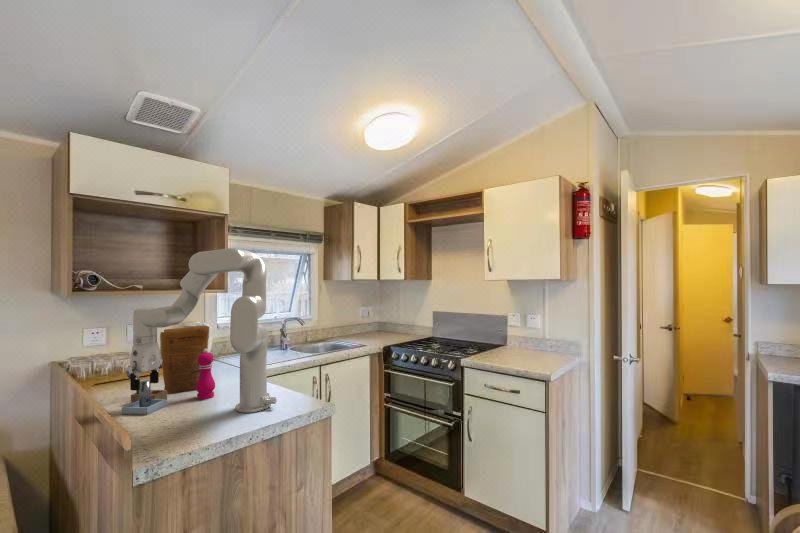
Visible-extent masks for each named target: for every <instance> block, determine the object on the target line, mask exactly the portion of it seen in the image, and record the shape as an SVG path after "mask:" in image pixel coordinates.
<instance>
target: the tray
mask: <svg viewBox="0 0 800 533" xmlns="http://www.w3.org/2000/svg"><path fill="white" fill-rule="evenodd" d="M167 401H168V398H167V399H151V406H149V407H139V401H136V402H134V403H131V402H130V404H127V405H124V406H122V407H121V415H125V416H126V415H127V414H128V415H132V414H133V415H132V416H135V415H136V416H139V415H140V416H147V415H150V414H153V413H155V412H157V411H159V410H161V409H164V408H165V407H167ZM128 415H127V416H128Z"/></svg>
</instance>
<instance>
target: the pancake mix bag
mask: <svg viewBox="0 0 800 533" xmlns="http://www.w3.org/2000/svg"><path fill="white" fill-rule="evenodd" d="M209 338H210V326H208V325H197V326H195V325H194V326H185V327H179V328H167V329H163V331H160V334H159V340H160V341H159V342H160V343H159V350H160V359H162V360H163V361H162V364H161V369H162V378H163V383H164V384H163V385H164V387H163V388H164V389H163V390H167V394H176V393H184V392H191V391H196V384H197V381H198V379H199V376H200V369H199V365H200V364H199V363H198V361H197V359H198V356H199V355H200V354H201V353H204V352H203V350H204V349H208V347H209ZM208 350H209V349H208Z"/></svg>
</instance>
